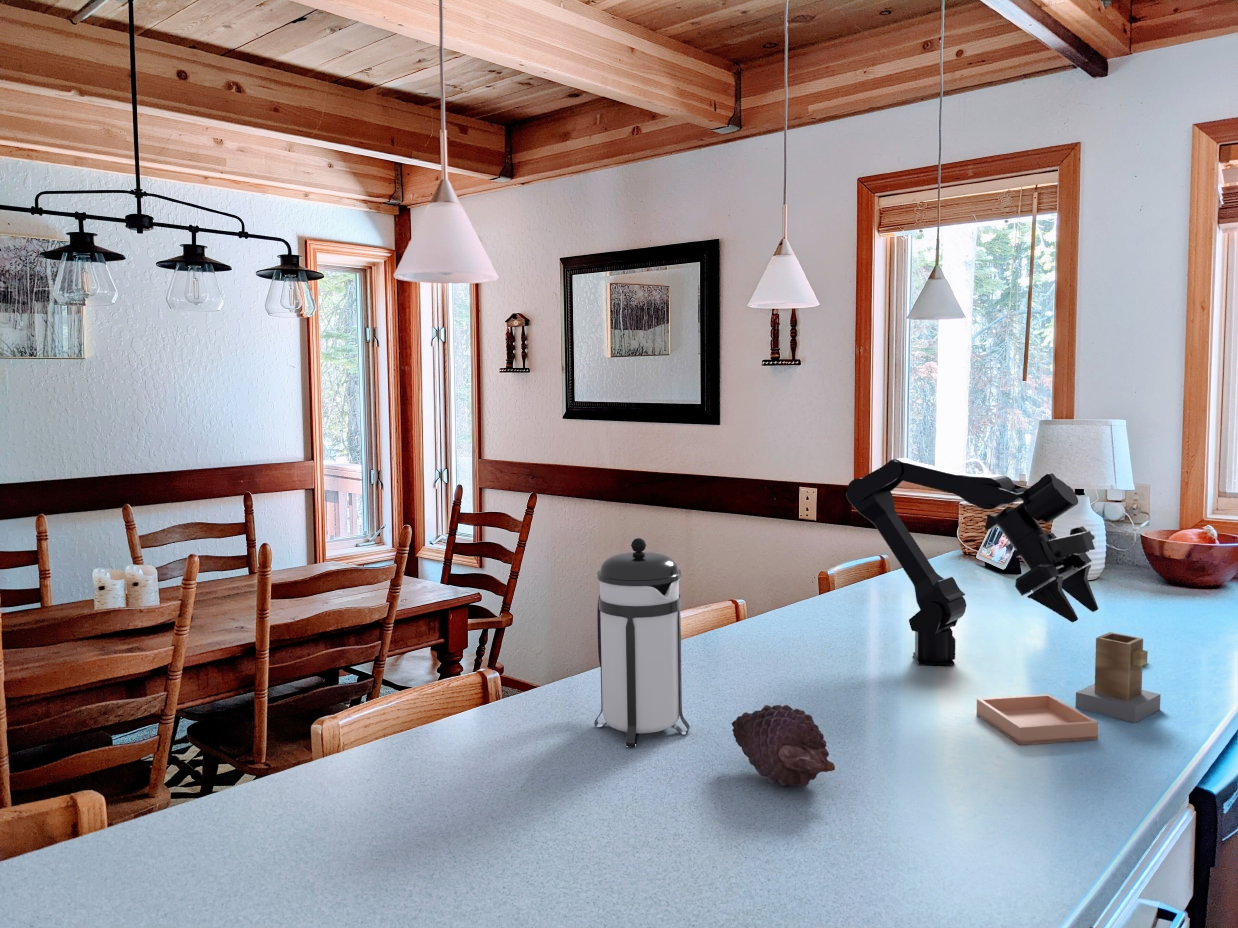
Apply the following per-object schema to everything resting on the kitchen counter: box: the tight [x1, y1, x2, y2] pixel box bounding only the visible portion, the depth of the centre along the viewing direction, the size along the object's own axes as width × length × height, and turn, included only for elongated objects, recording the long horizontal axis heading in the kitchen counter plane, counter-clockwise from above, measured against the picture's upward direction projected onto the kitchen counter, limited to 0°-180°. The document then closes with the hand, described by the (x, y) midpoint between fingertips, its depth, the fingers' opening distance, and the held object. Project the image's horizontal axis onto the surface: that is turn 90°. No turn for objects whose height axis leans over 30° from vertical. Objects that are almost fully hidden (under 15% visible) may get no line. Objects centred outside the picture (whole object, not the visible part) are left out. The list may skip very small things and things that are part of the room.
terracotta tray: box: [976, 693, 1099, 746], centre depth 136 cm, size 12×12×3 cm
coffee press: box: [593, 537, 691, 748], centre depth 137 cm, size 17×16×30 cm
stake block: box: [1075, 683, 1161, 724], centre depth 142 cm, size 9×9×7 cm
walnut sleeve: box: [1094, 631, 1149, 701], centre depth 142 cm, size 6×5×9 cm
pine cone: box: [731, 704, 836, 787], centre depth 119 cm, size 18×10×10 cm, turn 34°
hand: (1085, 615), depth 148 cm, fingers open, 9 cm apart
